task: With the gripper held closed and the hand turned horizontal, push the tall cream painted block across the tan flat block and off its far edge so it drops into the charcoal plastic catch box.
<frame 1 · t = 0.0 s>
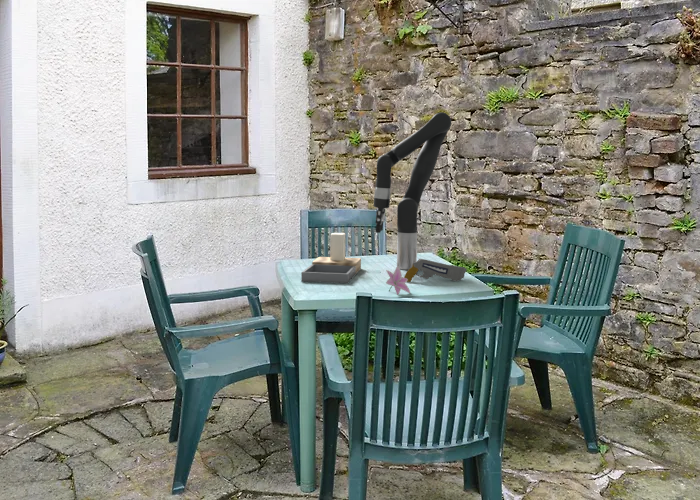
hand: (379, 231, 355), 17 cm above the table, tool pointing down, fingers open, 8 cm apart
cream block: (337, 259, 348), point 5 cm above the table, touching tan flat block
tan flat block: (336, 270, 347), on the table
gun: (435, 282, 324), on the table
lily: (396, 293, 298), on the table
catch box: (329, 278, 328), on the table
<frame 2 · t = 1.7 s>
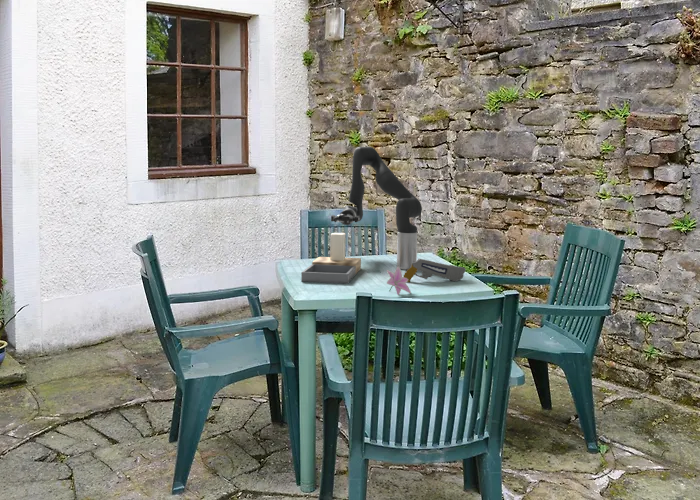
hand: (342, 220, 357), 22 cm above the table, tool horizontal, fingers open, 6 cm apart
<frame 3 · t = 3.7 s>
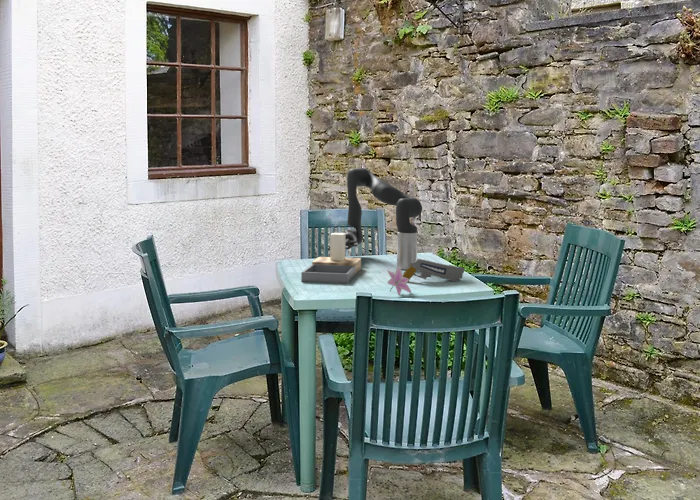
hand: (341, 245, 358), 10 cm above the table, tool horizontal, fingers closed
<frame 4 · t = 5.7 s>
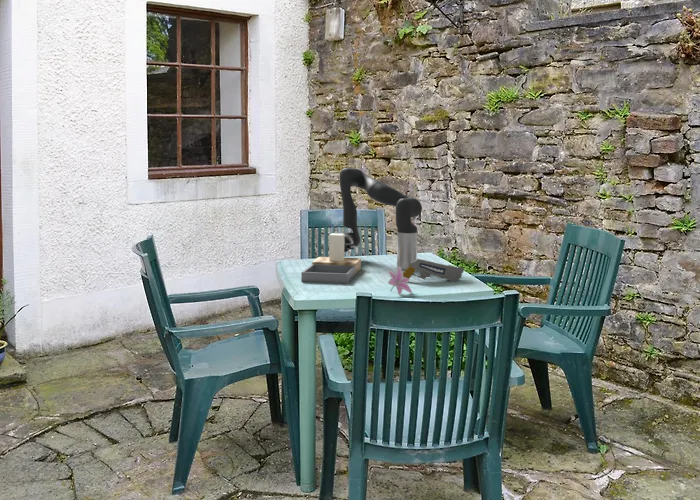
hand: (337, 248, 347), 10 cm above the table, tool horizontal, fingers closed
cream block: (336, 260, 345), point 5 cm above the table, touching gripper
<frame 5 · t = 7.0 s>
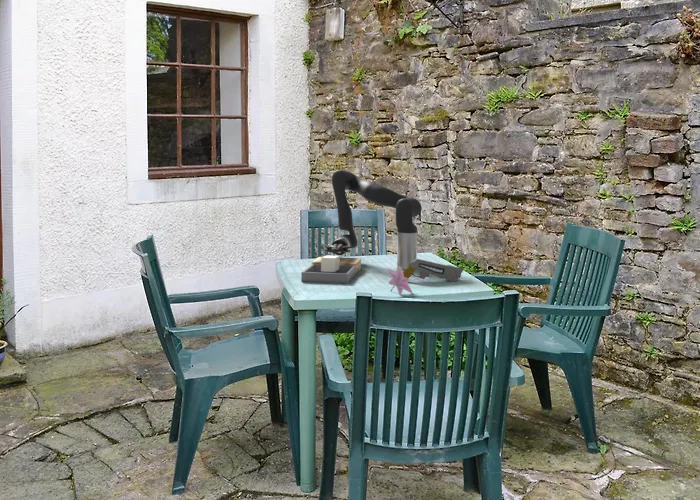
hand: (334, 251, 339), 10 cm above the table, tool horizontal, fingers closed
cream block: (332, 262, 336), point 5 cm above the table, tilted 86°
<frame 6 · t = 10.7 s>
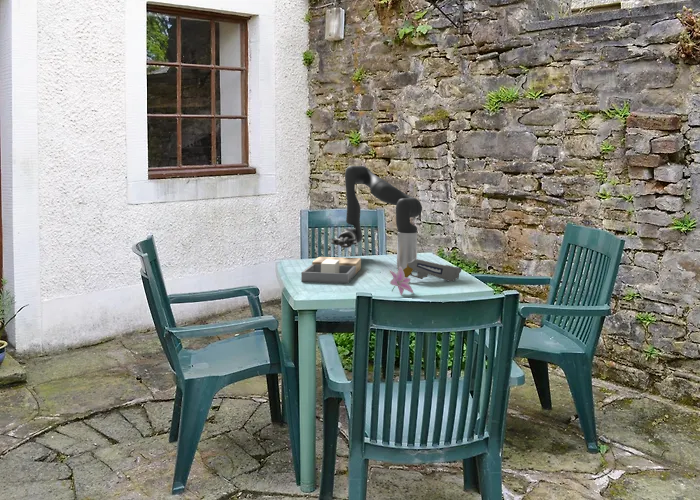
hand: (340, 243, 354), 11 cm above the table, tool horizontal, fingers closed
cream block: (332, 266, 336), point 4 cm above the table, tilted 90°, touching catch box
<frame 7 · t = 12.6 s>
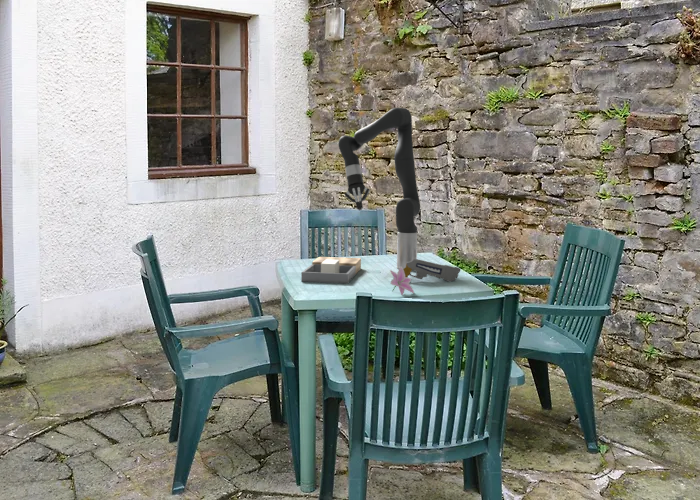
hand: (360, 209, 362), 27 cm above the table, tool tilted 20°, fingers closed
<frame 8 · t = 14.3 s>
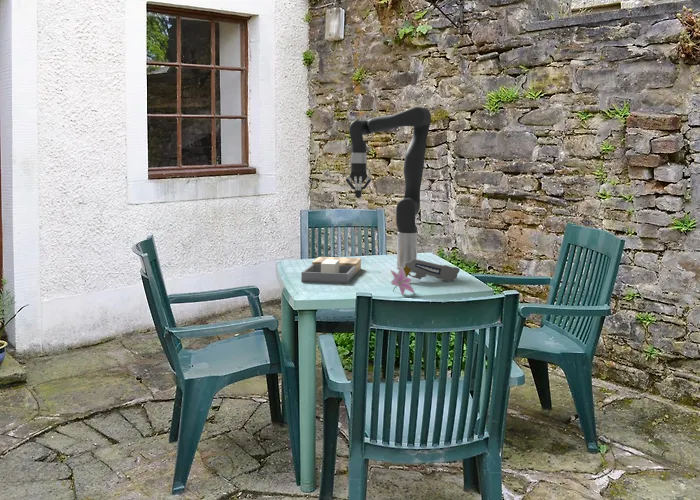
hand: (358, 198, 365), 32 cm above the table, tool pointing down, fingers closed
at the end: cream block inside the target area on the catch box (9.0 cm from its centre), point 3.8 cm above the catch box's base; cream block moved 12.3 cm from its start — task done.
